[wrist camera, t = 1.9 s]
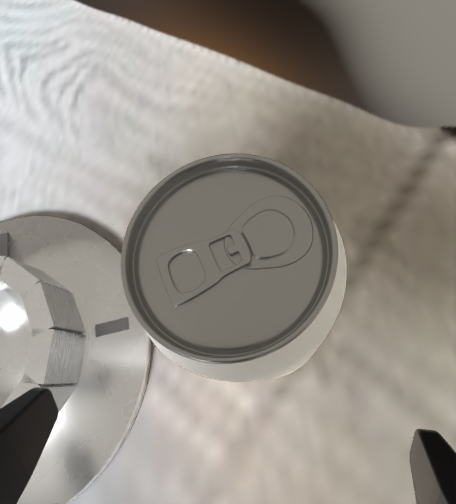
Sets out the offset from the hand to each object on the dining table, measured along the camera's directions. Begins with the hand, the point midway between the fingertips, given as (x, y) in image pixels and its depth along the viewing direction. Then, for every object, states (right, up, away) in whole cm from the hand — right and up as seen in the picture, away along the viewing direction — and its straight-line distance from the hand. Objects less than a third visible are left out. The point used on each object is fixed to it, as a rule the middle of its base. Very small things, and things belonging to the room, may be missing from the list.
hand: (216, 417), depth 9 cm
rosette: (-13, -2, +14) cm, 19 cm away
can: (+2, 0, +12) cm, 12 cm away
